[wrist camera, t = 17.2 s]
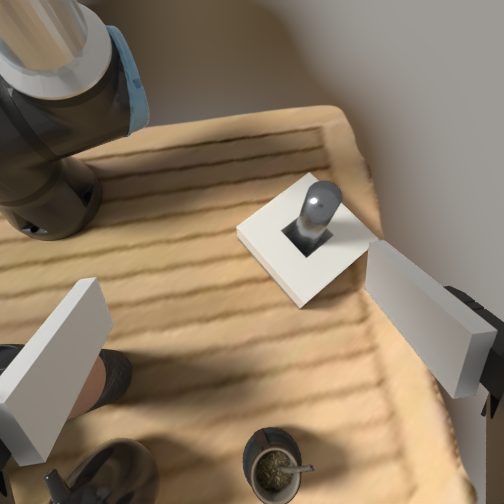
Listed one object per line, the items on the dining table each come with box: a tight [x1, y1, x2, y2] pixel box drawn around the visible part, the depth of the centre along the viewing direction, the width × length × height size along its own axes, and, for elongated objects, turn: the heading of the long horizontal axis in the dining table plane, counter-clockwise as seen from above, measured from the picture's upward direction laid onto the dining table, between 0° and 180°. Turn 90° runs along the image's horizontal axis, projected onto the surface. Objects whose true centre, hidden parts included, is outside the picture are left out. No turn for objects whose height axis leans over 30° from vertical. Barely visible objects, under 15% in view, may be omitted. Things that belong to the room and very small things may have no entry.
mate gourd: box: [243, 427, 314, 504], centre depth 35 cm, size 7×8×10 cm
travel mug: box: [0, 344, 132, 420], centre depth 33 cm, size 8×8×20 cm
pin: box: [291, 181, 342, 255], centre depth 41 cm, size 4×4×15 cm
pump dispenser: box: [44, 438, 159, 504], centre depth 31 cm, size 10×10×15 cm
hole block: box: [236, 172, 379, 309], centre depth 47 cm, size 15×15×5 cm
